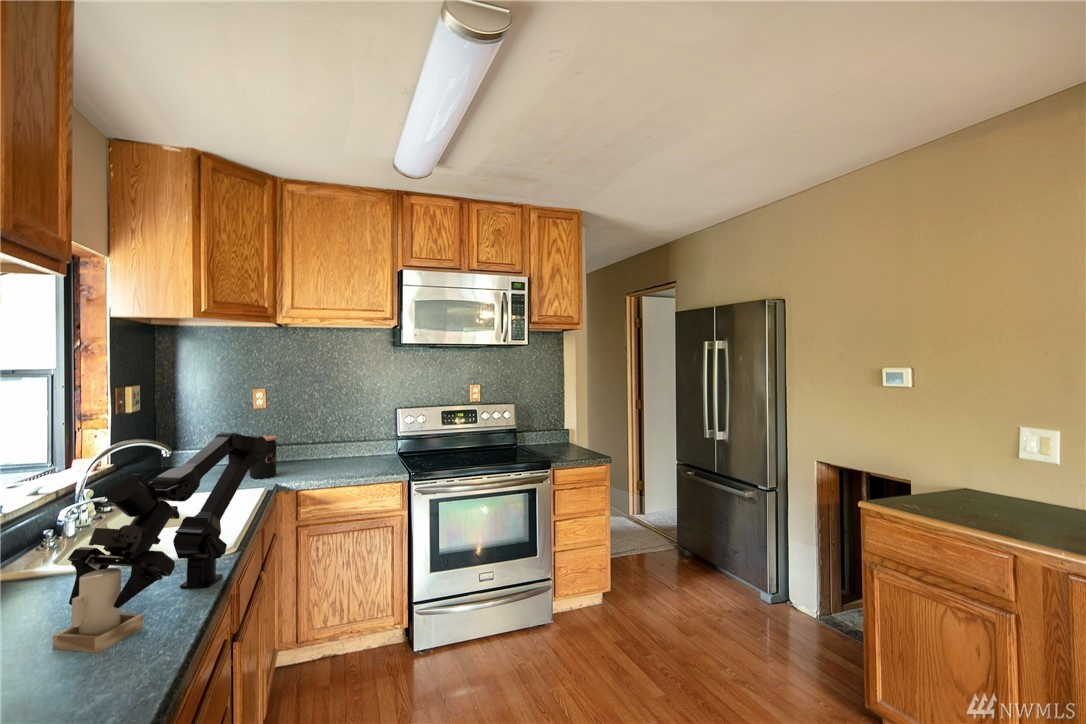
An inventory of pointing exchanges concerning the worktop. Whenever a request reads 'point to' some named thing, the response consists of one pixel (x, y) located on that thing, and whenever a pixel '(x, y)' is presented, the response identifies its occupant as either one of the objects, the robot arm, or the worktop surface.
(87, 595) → the jug
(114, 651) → the worktop surface
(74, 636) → the holder
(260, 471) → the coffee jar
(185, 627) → the worktop surface
